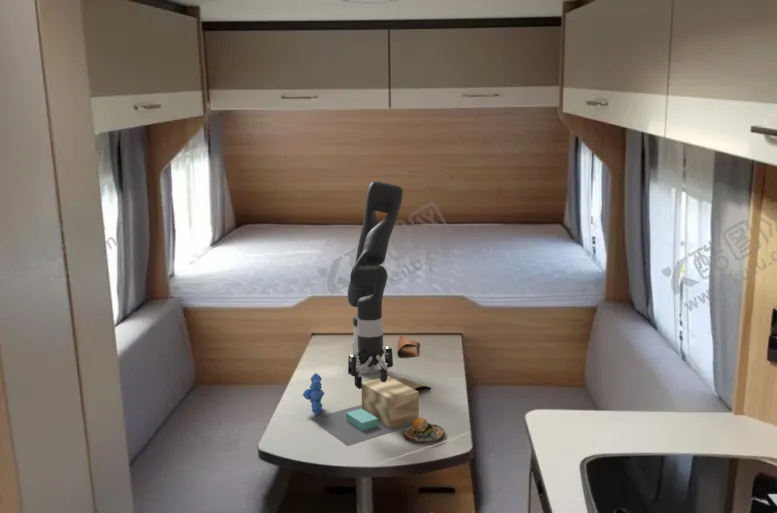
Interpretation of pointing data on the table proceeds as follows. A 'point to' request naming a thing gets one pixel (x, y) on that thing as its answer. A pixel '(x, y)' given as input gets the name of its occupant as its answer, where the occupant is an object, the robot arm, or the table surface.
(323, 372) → the table surface
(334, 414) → the mat
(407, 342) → the sunglasses case
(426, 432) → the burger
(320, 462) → the table surface
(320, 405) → the blue knobby sculpture
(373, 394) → the oak block
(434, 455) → the table surface
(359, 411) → the card box
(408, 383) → the clay tablet
